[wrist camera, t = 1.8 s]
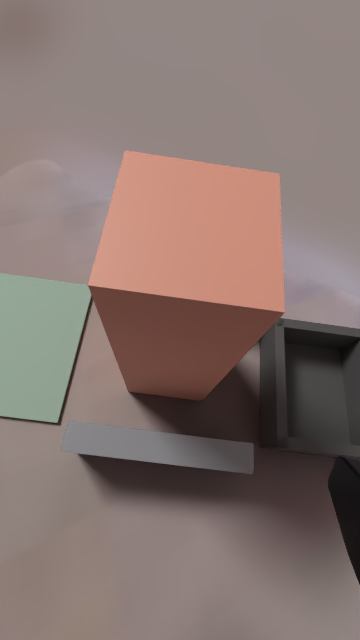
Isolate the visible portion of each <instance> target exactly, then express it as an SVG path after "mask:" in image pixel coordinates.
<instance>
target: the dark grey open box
mask: <svg viewBox="0 0 360 640" xmlns="http://www.w3.org/2000/svg"><path fill="white" fill-rule="evenodd" d="M260 448H264V449H273V450H281V451H289V452H297V453H305V454H313V455H321V456H329V457H339V456H349V457H355V458H357V459H359V460H360V329H356V328H349V327H341V326H334V325H327V324H320V323H312V322H305V321H298V320H290V319H283V318H279V319H278V320H277V321H276V322H275V323H274V324H273V325H272V327H271V328H270V329H269V330H268V331H267V332H266V333H265V334H264V335H263V336H262V337H261V338H260Z"/></svg>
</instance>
